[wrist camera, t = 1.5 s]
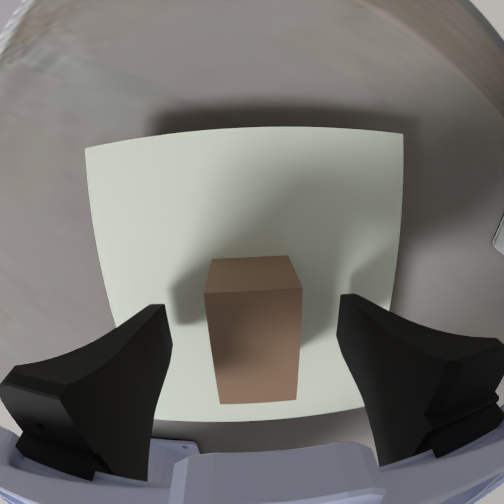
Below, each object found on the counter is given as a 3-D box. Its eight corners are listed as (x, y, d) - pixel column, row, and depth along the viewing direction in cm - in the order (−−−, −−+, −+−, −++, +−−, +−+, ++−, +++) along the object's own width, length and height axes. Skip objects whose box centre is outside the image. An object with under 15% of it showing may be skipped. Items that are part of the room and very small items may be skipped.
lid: (151, 411, 15) (139, 456, 12) (91, 148, 10) (42, 150, 7) (361, 399, 16) (380, 442, 12) (396, 134, 11) (446, 131, 7)
